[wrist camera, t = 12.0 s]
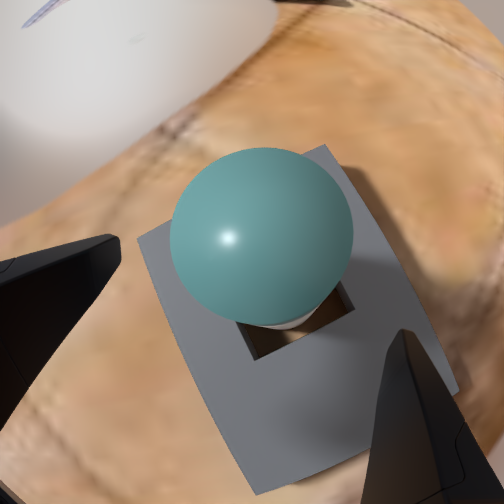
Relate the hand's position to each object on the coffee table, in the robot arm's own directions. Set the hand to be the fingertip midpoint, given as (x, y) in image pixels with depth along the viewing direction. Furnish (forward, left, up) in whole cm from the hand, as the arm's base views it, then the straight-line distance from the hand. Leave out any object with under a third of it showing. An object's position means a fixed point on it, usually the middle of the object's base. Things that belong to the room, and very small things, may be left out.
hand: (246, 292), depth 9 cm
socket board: (-1, -1, -11) cm, 11 cm away
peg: (+1, -1, -11) cm, 11 cm away
